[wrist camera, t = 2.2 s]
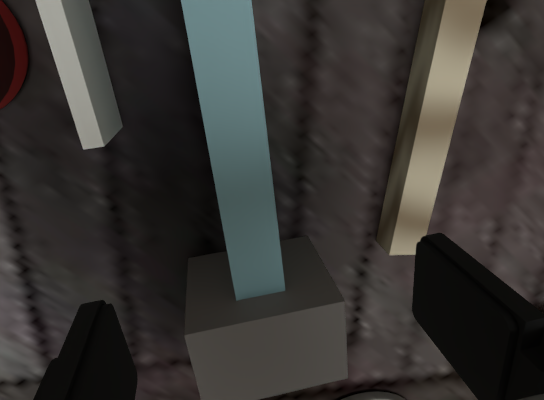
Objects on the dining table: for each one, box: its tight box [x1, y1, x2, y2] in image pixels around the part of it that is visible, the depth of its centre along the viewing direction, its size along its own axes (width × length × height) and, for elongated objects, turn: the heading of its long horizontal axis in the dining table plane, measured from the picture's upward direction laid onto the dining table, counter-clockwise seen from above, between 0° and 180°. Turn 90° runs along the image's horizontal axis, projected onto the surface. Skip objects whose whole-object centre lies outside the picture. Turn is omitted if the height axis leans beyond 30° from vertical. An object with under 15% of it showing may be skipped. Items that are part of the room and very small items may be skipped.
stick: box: [376, 0, 486, 255], centre depth 26 cm, size 18×3×3 cm, turn 175°
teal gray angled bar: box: [181, 0, 348, 400], centre depth 21 cm, size 30×15×8 cm, turn 6°
